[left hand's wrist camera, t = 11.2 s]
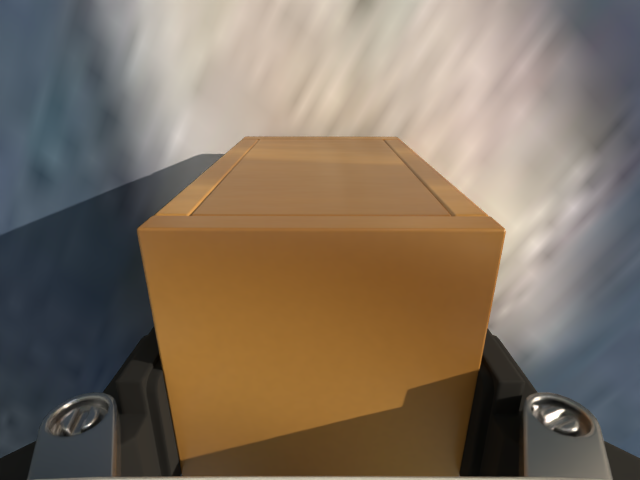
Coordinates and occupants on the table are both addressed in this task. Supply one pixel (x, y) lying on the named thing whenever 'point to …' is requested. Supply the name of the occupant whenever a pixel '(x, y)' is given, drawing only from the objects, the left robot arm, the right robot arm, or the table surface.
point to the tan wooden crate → (320, 310)
